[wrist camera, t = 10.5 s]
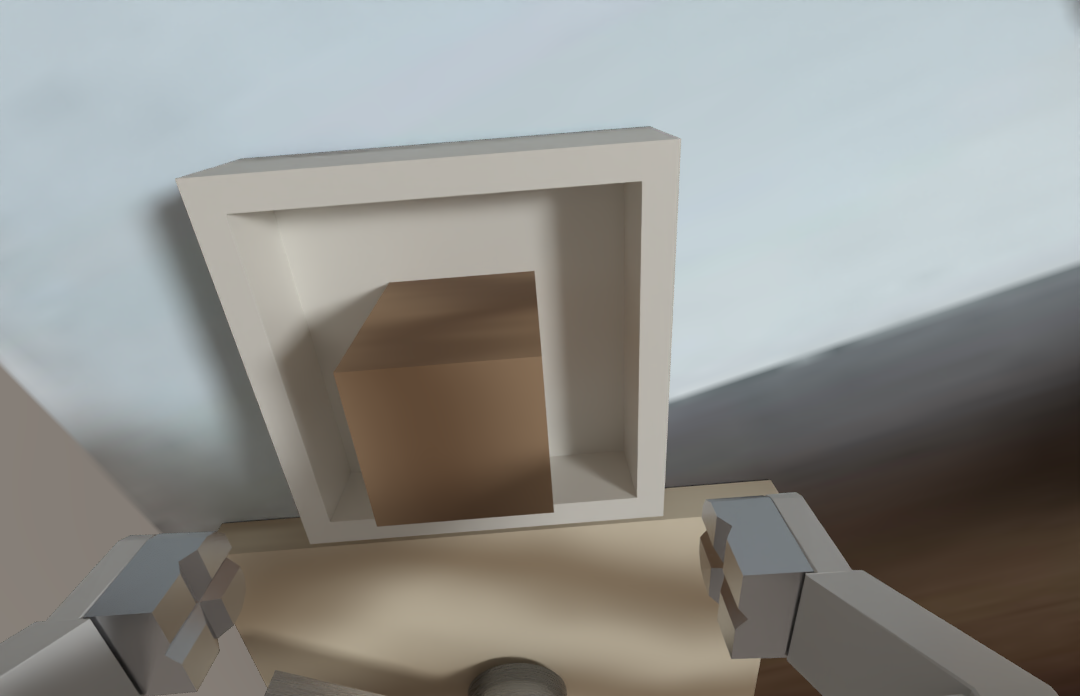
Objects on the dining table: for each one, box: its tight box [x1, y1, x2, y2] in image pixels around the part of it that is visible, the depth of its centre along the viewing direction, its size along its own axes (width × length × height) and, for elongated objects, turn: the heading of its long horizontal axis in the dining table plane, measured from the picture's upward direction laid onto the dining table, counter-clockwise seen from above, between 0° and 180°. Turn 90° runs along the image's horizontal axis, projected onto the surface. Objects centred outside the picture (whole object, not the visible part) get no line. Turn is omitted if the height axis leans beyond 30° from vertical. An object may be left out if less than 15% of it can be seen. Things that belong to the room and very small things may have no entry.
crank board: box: [217, 480, 779, 696], centre depth 23 cm, size 19×20×2 cm
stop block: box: [333, 271, 554, 527], centre depth 13 cm, size 4×4×5 cm
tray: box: [175, 126, 681, 544], centre depth 15 cm, size 11×11×3 cm
